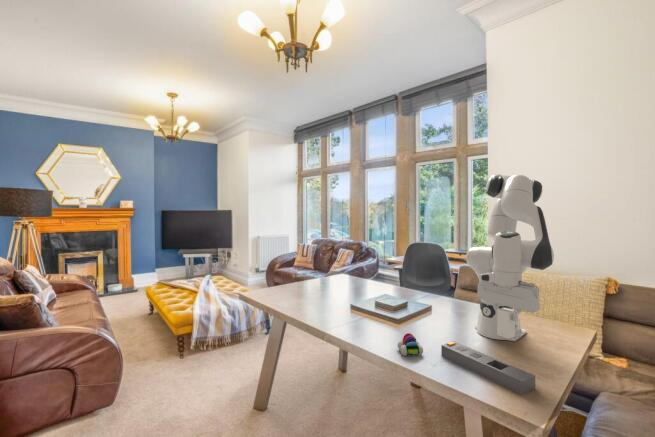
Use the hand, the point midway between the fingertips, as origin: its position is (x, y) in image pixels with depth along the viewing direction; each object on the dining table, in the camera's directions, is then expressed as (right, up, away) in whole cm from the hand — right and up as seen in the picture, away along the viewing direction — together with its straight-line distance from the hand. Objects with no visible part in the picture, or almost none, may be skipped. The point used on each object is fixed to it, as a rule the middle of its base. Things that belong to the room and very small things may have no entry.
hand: (506, 318), depth 111 cm
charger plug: (0, -6, 0) cm, 6 cm away
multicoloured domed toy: (-29, -19, +15) cm, 38 cm away
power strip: (-8, -19, -1) cm, 20 cm away
